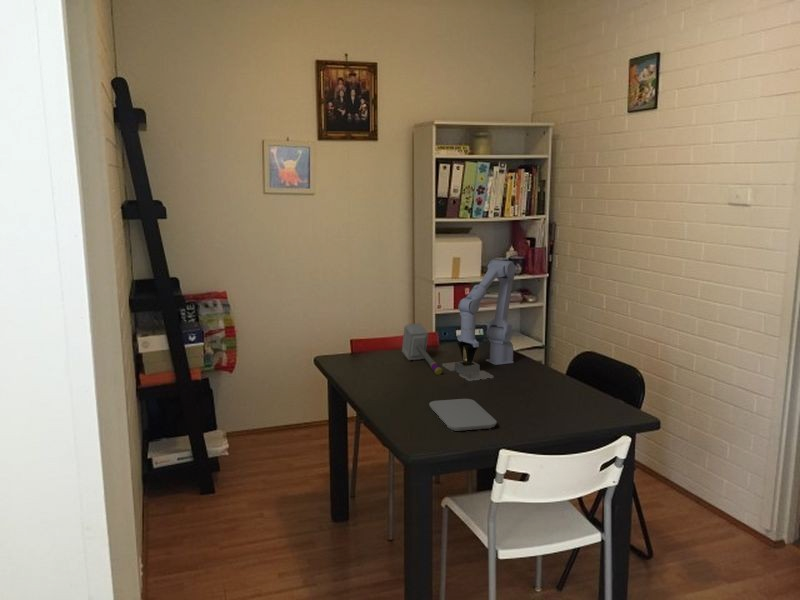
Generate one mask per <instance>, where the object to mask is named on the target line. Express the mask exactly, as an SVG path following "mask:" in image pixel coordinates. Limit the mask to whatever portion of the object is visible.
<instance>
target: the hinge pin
mask: <svg viewBox="0 0 800 600" xmlns="http://www.w3.org/2000/svg"><path fill="white" fill-rule="evenodd" d="M462 361H463V365H464V366H466V365H472V362H467V357H466V350H465V348H464V346H463V359H462Z"/></svg>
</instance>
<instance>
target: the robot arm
mask: <svg viewBox="0 0 800 600" xmlns="http://www.w3.org/2000/svg"><path fill="white" fill-rule="evenodd" d="M515 275H516V265H515V263H514V262H513V261H512V260H502V259H496V258H492V259H491V260H490V261H489V263H488V264H487V271H486V273H485V274H484V276H483V278H481V281H480V283H479V284H475V285H474V286H473V287H472V288H471V290H470V292H469V293H468V294H467V295H466V297H464V298H462V299H460V301H459V304H458V311H459V315H460V334H457V338H456V339H457V340H458V342H456V344H457V346H458V349H459V352H460V355H461V359H462V360H463V346H464V348H465V350H466V357H467V362H472V361H473V362H474V356H475V354H476V352H477V350H478V348H479V345H480V344H479V343H480V342H479V341H477V339H476V316H477V315H476V314H477V312H478V311H479V309H480V305H481V302H482V300H483V299H484V298H485V296H486V295H487V293H488V292H487V289H488V288H489V287H490V286H491V284H492V283H493V282H494V281H495V280H496V279H497V280H498V282H499V287H498V293H497V300H496V307H495V314H494V319H492V320H491V321H489V323H488V327H487V329H486V337H487V339H488V342H490V343H489V345H490V347H489V348H490V349H489V358H488V359H485V361H486V362H488V363H490V364H492V365H494V366H498V365H507V364H508V365H509V364H514V345H513V342H511V340H512V338H513V332H512V328H513V325H512V324H511V323H510V322H509V321H508V316H509V310H510V302H511V298H512V297H511V296H512V289H513V282H514V280H515Z"/></svg>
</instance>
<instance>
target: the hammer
mask: <svg viewBox="0 0 800 600" xmlns="http://www.w3.org/2000/svg"><path fill="white" fill-rule="evenodd" d="M403 330H404V331H403V340H402V348H401V352H402V353H403V355H404V356H405V358H406V359H407V360H408V361H409V362H411V360H413V361H421V359H422V360H424V359H425V361H426V362H427V364H429V366H430V369H431V370H432V371H433V372H434V374H435V375H436V376H439V375H441V374H442V373H443V368H442V367H440V365H439V363H437V362H436V361H435V360H434V359H433V358H432V357H431V355H430V354H429V353H428V352H427V345H428V337H429V332H428V331H427V329H425V327H424V326H423V325H422V323H421V322H420V323H419V322H418V323H407V324H405V325H404V329H403Z"/></svg>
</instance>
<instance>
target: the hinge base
mask: <svg viewBox="0 0 800 600" xmlns="http://www.w3.org/2000/svg"><path fill="white" fill-rule="evenodd" d="M441 364H442V365H441V366H442V367H444V368H445V369H446V370H448V371H451V372H453V371H454V372H457V373H458V374H459V375H458V376H460V377H461V378H462V379H464V378H465V381H468V382H472V381H473V380H474V381H479V380H480V379H482V380H488V379H487V378H490V379H494V375H493V374H491V373H489V372H488V371H485V370H481V369H480V368H481V366H480V364H478V363H477V362H475V361H474V360H473V361H472V365H466V366H464V365H463V360H461V361H453V362H445V363H441Z"/></svg>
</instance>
